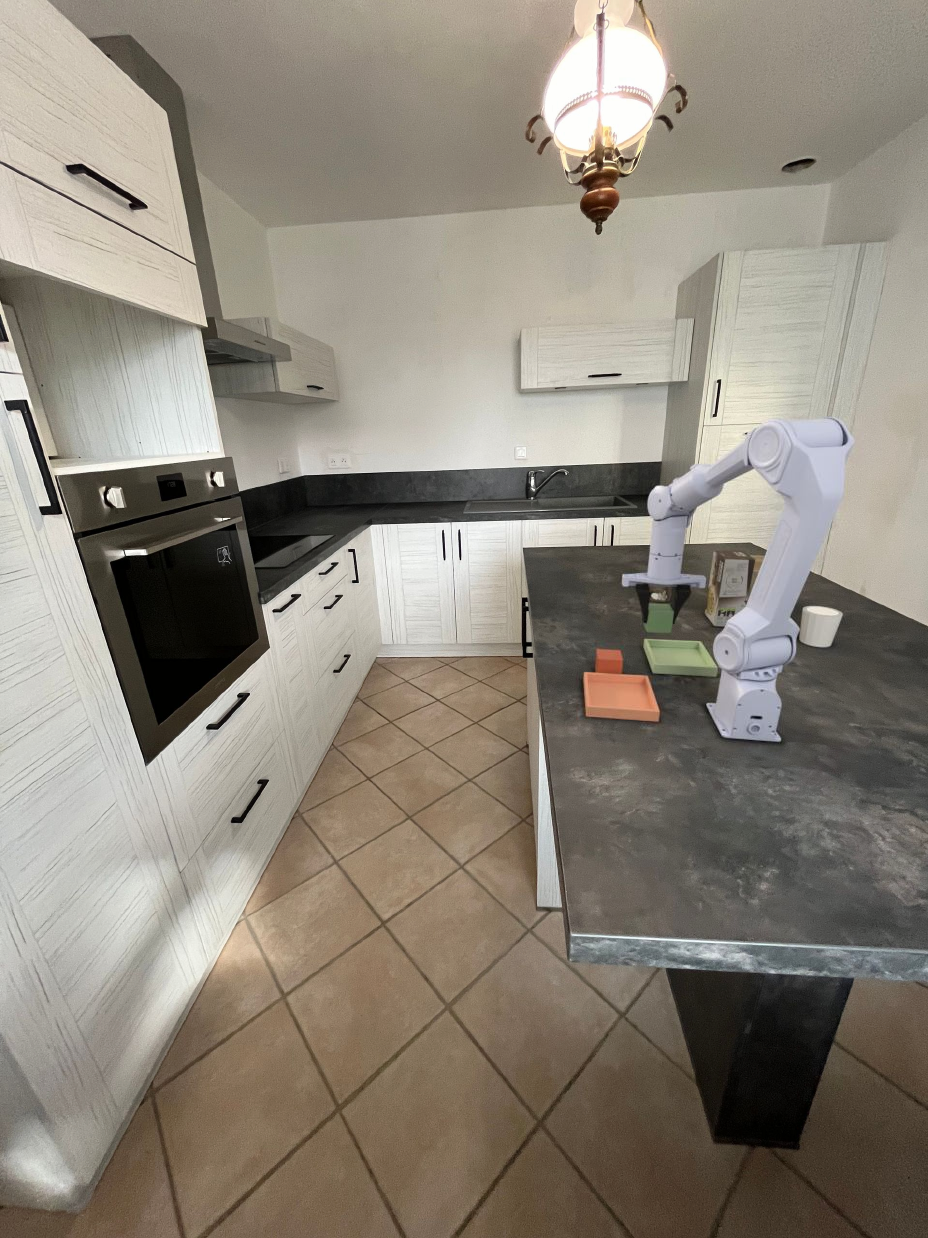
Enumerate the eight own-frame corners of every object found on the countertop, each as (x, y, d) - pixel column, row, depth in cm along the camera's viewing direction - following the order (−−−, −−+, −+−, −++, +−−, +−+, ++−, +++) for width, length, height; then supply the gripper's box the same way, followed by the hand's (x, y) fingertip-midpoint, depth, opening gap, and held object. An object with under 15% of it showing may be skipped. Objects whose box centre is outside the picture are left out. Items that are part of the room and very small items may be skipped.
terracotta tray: (658, 721, 77) (659, 711, 76) (585, 716, 79) (586, 706, 78) (646, 684, 88) (647, 675, 87) (583, 681, 90) (583, 672, 90)
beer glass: (639, 597, 133) (644, 543, 128) (658, 593, 136) (664, 540, 131) (658, 604, 128) (665, 548, 122) (678, 600, 130) (685, 544, 125)
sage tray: (716, 676, 90) (718, 667, 89) (652, 673, 92) (653, 664, 92) (699, 649, 101) (701, 641, 101) (643, 647, 103) (644, 638, 103)
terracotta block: (621, 681, 90) (623, 660, 88) (596, 680, 90) (598, 658, 89) (618, 670, 94) (620, 650, 92) (595, 669, 94) (596, 648, 93)
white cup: (797, 645, 102) (804, 613, 99) (794, 633, 107) (801, 603, 105) (837, 650, 99) (846, 618, 96) (832, 638, 104) (840, 607, 102)
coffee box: (744, 628, 111) (756, 559, 105) (713, 626, 112) (724, 558, 107) (731, 614, 119) (743, 549, 114) (703, 613, 121) (713, 549, 115)
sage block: (671, 633, 92) (674, 611, 91) (646, 632, 93) (649, 610, 91) (666, 624, 96) (669, 603, 95) (643, 624, 97) (645, 603, 96)
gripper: (702, 548, 92) (692, 615, 96) (622, 547, 94) (617, 613, 99) (713, 557, 85) (702, 629, 90) (627, 556, 88) (620, 626, 93)
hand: (658, 621), depth 94 cm, fingers closed on sage block, 4 cm apart
